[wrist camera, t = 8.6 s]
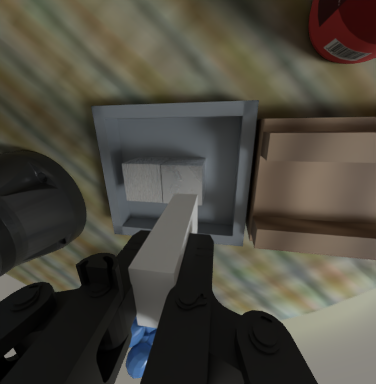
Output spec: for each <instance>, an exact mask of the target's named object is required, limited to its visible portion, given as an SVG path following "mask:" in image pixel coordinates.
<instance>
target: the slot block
mask: <svg viewBox="0 0 376 384" xmlns="http://www.w3.org/2000/svg"><path fill="white" fill-rule="evenodd" d="M246 226H247V231H248V235H249V240H250V241H253V244H254V248H259V249H269V250H279V251H289V252H299V253H309V254H320V255H330V256H340V257H350V258H360V259H370V260H376V117H337V118H282V119H258V120H257V123H256V132H255V141H254V150H253V159H252V168H251V177H250V186H249V195H248V204H247V213H246Z"/></svg>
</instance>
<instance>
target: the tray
mask: <svg viewBox="0 0 376 384" xmlns="http://www.w3.org/2000/svg"><path fill="white" fill-rule="evenodd" d="M258 102H259V100H250V101H221V102H193V103H165V104H137V105H108V106H91V108H92V113H93V119H94V124H95V130H96V135H97V141H98V146H99V151H100V157H101V162H102V168H103V173H104V179H105V184H106V189H107V195H108V200H109V206H110V211H111V217H112V222H113V227H114V233H115V234H122V235H132V236H133V235H134V234H136V233H137V232H139V231H140V230H149V231H152V229H153V227H154V226H155V224H156V223H157V221H158V219H159V218H160V216H161V215H162V213H163V211H164V210H165V208H166V207H167V205H168V203H158V202H141V201H127V198H126V191H125V184H124V177H123V170H122V163H125V162H127V161H130V160H132V159H135V158H137V157H171V158H206V192H205V196H204V199H203V203H202V205H198V218H197V234H208V235H210V236H211V237H212V239H213V241H214V244H224V245H234V246H243V238H244V229H245V220H246V211H247V202H248V193H249V184H250V175H251V166H252V157H253V148H254V139H255V130H256V120H257V111H258Z"/></svg>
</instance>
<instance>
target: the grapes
mask: <svg viewBox="0 0 376 384" xmlns="http://www.w3.org/2000/svg"><path fill="white" fill-rule="evenodd" d="M156 330H157V328H152V327H146V326H140V325H138V323H137V317H135V320H134V322H133V324H132V327H131V332H132V338H131V343H130V345H129V347H132V348H131V350H130V351H129V353H128V356H127V360H126V368H127V371H128V374H129V375H130V376H131V377H132V378H140V377H142V376H143V372H144V369H145V366H146V363H147V359H148V356H149V353H150V350H151V346H152V343H153V340H154V336H155V333H156Z"/></svg>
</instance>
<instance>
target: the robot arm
mask: <svg viewBox="0 0 376 384" xmlns="http://www.w3.org/2000/svg"><path fill="white" fill-rule="evenodd" d="M197 218H198V194H177V193H175V194H174V195H173V197H172V199H171V200H170V202H169V203H168V205H167V207H166V208H165V210H164V211H163V213H162V215H161V216H160V218H159V219H158V221H157V223H156V224H155V226H154V227H153V229H152V231H149V230H140V231H139V232H137V233H136V234H134V235H133V236H132V237H131V238H130V240H129V241H128V243H127V244H126V245H125V246H124V248H123V250H121V252H120V253H119V254H118V256H117V257H115V256H114V255H113V254H110V253H98V254H95V255H91V256H89V257H87V258H85V259H83V260H81V261H80V262H79V263H78V264H76V268H77V271H78V275H79V278H80V281H81V286H80V288H78V289H73V290H67V291H61V292H54V289H53V287H52V286H51V285H50V284H49V283H46V282H38V283H33V284H30V285H28V286H25V287H23V288H21V289H19V290H17V291H16V292H14V293H12V294H11V295H9V296H8V297H6V298H5V299H3V300H2V301H0V384H114V383H115V380H116V378H117V375H118V373H119V370H120V368H121V365H122V363H123V360H124V358H125V355H126V353H127V350H128V348H129V345H130V343H131V338H132V332H131V327H132V324H133V322H134V320H135V317H137V323H138V325H140V326H146V327H152V328H157V330H156V333H155V336H154V340H153V343H152V346H151V350H150V353H149V356H148V359H147V363H146V366H145V369H144V372H143V376H142V379H141V382H140V384H318V383H317V381H316V380H315V378H314V376H313V374H312V372H311V370H310V369H309V367H308V365H307V363H306V361H305V360H304V358H303V356H302V354H301V352H300V351H299V349H298V347H297V345H296V343H295V342H294V340H293V338H292V336H291V334H290V333H289V332H288V330H287V329H286V327H285V326H284V325H283V323H281V322H280V321H279V320H278V319H276V318H275V317H274V316H272V315H270V314H268V313H266V312H263V311H256V310H252V311H249V312H245V313H244V314H243V315H240V314H237V313H235V312H233V311H231V310H229V309H227V308H226V307H224V306H223V305H222V304H221V303H219V302H218V300H217V299H216V298H215V296H214V294H213V291H212V273H213V251H214V241H213V239H212V237H211V236H210V235H208V234H197ZM85 222H86V207H85V203H84V199H83V197H82V194H81V192H80V190H79V188H78V186H77V185H76V183H75V182H74V180H73V179H72V178H71V176H70V175H69V174H68V173H67V172H66V171H65V170H64V169H63V168H62V167H61V166H60V165H58V164H57V163H56V162H54V161H53V160H51V159H49V158H48V157H46V156H44V155H41V154H39V153H35V152H31V151H16V152H9V153H3V154H0V276H2V275H3V274H5V273H6V272H8V271H9V270H11V269H12V268H14V267H15V266H17V265H20V264H22V263H25V262H28V261H30V260H33V259H35V258H38V257H41V256H43V255H46V254H49V253H51V252H54V251H56V250H59V249H61V248H63V247H65V246H66V245H68V244H69V243H70V242H72V241H73V240H74V239H75V238H77V237H78V236H79V235H80V234H81V232H82V231H83V229H84V226H85ZM12 348H14V350H15V352H16V353H17V354H15V355H14V356H12V357H9V358H5V357H4V355H5V354H7V352H9V351H10V350H11V349H12Z"/></svg>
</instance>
